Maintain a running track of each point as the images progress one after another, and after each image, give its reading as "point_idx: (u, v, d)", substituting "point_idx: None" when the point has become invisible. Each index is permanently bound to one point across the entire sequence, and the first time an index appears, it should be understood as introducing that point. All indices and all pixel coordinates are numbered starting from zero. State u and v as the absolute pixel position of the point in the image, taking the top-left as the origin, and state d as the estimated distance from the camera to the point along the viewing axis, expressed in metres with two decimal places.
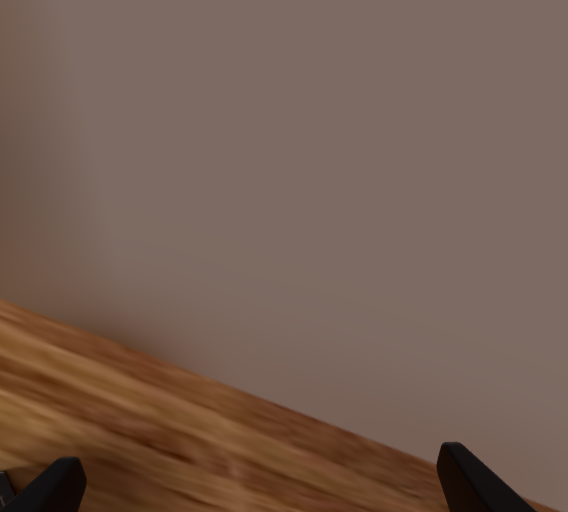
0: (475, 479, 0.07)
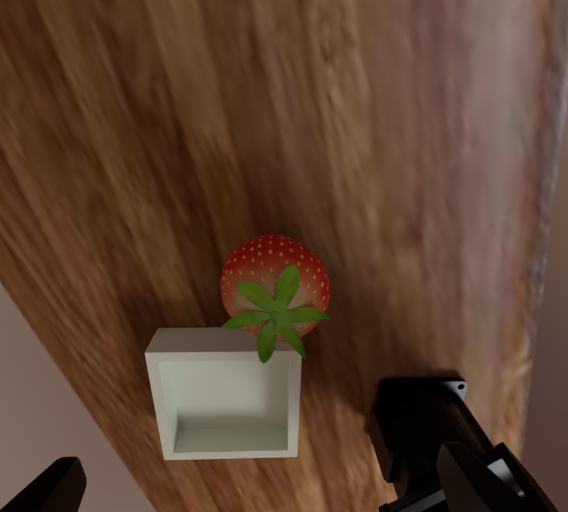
0: (475, 479, 0.07)
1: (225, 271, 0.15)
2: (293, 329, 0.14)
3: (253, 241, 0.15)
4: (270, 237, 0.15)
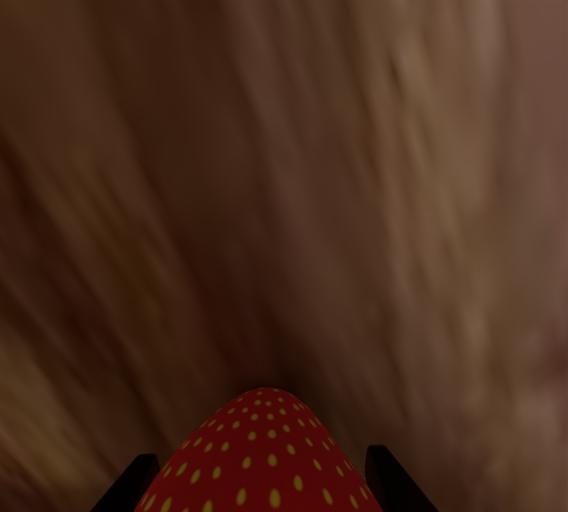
0: (389, 482, 0.07)
1: None
2: None
3: None
4: (239, 497, 0.05)
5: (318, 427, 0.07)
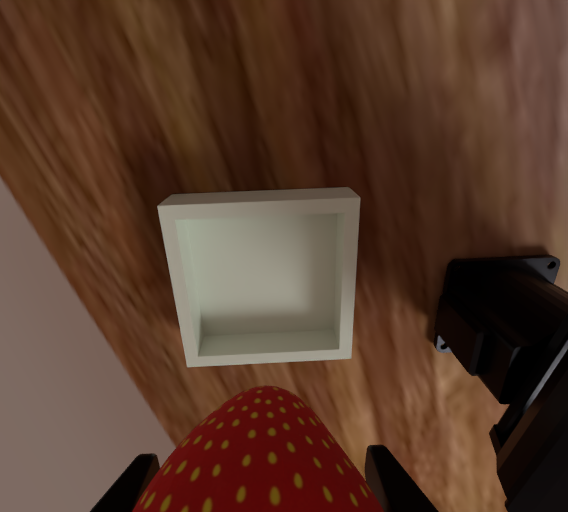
0: (389, 483, 0.07)
1: None
2: None
3: (186, 509, 0.05)
4: (239, 495, 0.05)
5: (318, 425, 0.07)
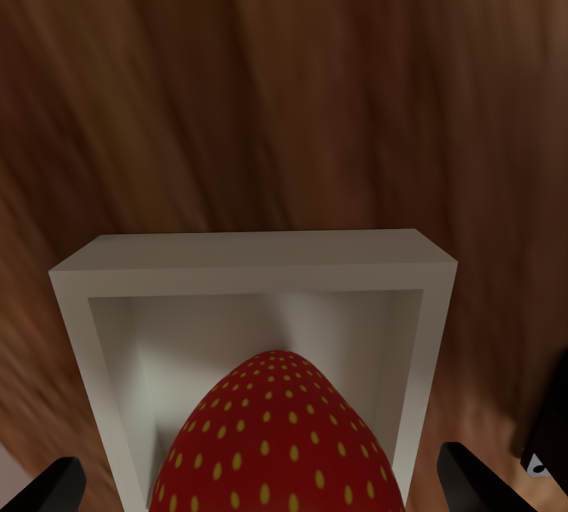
0: (475, 479, 0.07)
1: None
2: None
3: (224, 428, 0.06)
4: (265, 417, 0.06)
5: (323, 378, 0.09)
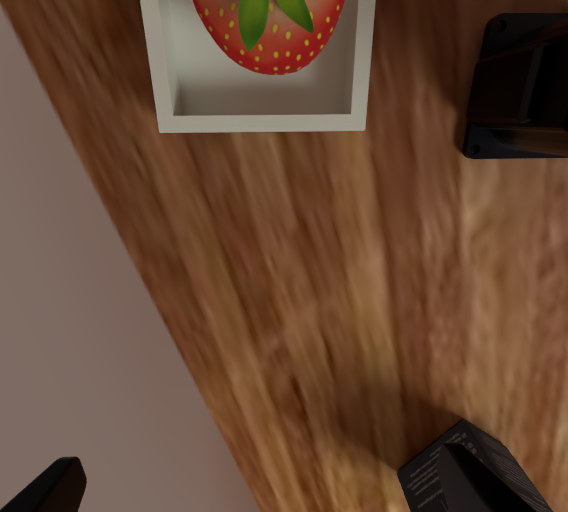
0: (475, 479, 0.07)
1: None
2: None
3: None
4: None
5: None
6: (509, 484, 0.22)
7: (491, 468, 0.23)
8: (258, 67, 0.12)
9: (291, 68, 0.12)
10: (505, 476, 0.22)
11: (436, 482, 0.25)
